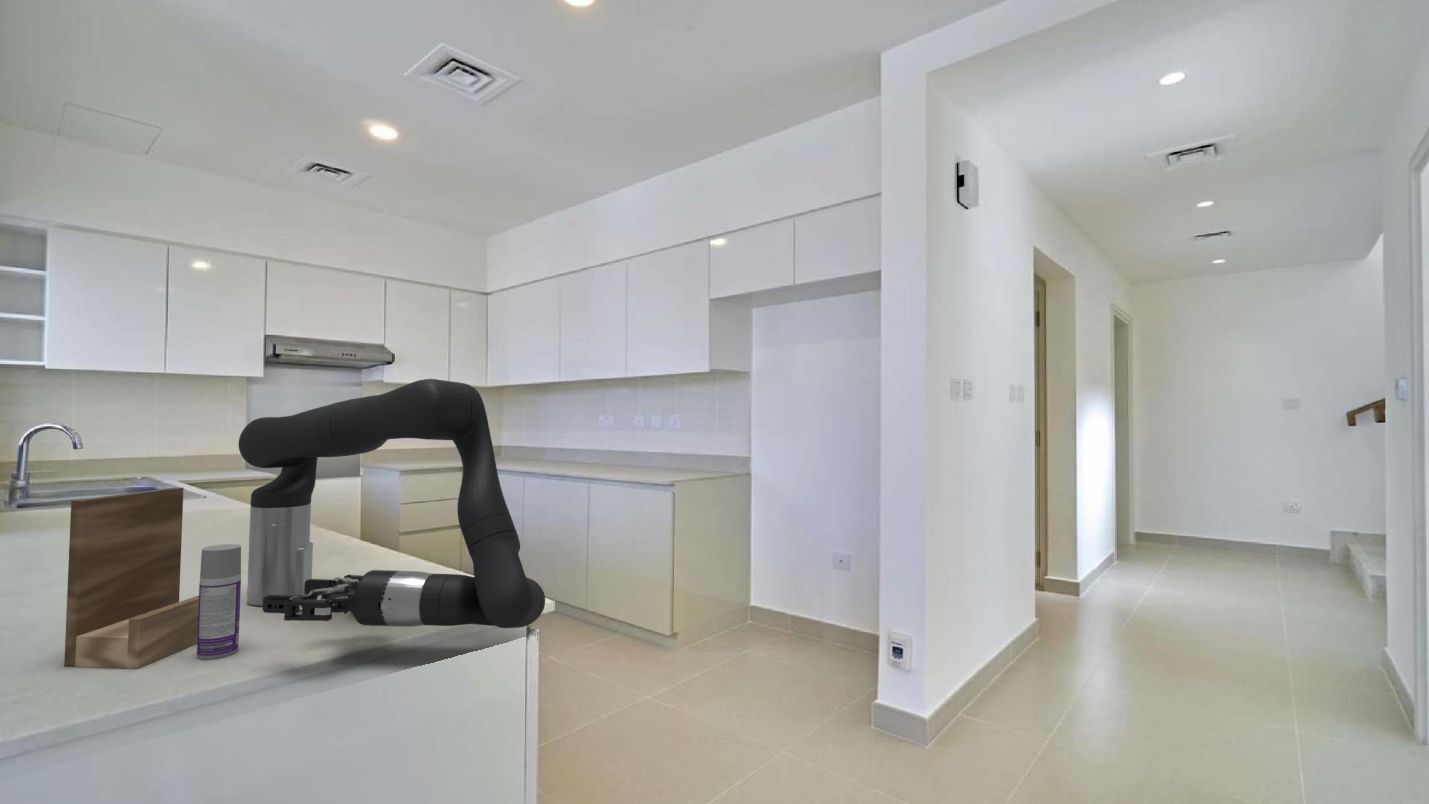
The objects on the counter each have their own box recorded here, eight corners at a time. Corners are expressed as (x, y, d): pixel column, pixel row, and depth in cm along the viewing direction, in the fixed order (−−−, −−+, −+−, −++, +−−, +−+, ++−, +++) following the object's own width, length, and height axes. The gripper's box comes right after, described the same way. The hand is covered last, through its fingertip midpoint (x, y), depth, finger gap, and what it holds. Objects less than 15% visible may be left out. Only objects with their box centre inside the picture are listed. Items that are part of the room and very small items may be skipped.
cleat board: (231, 628, 101) (236, 488, 102) (137, 668, 85) (144, 502, 86) (168, 627, 101) (174, 487, 102) (64, 666, 85) (71, 500, 86)
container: (211, 647, 93) (215, 543, 93) (246, 647, 93) (249, 543, 94) (188, 659, 88) (192, 550, 89) (224, 659, 89) (228, 550, 89)
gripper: (423, 560, 98) (318, 557, 98) (372, 584, 84) (249, 581, 84) (422, 609, 98) (316, 606, 98) (370, 642, 84) (247, 639, 84)
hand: (286, 594), depth 91 cm, fingers open, 8 cm apart
